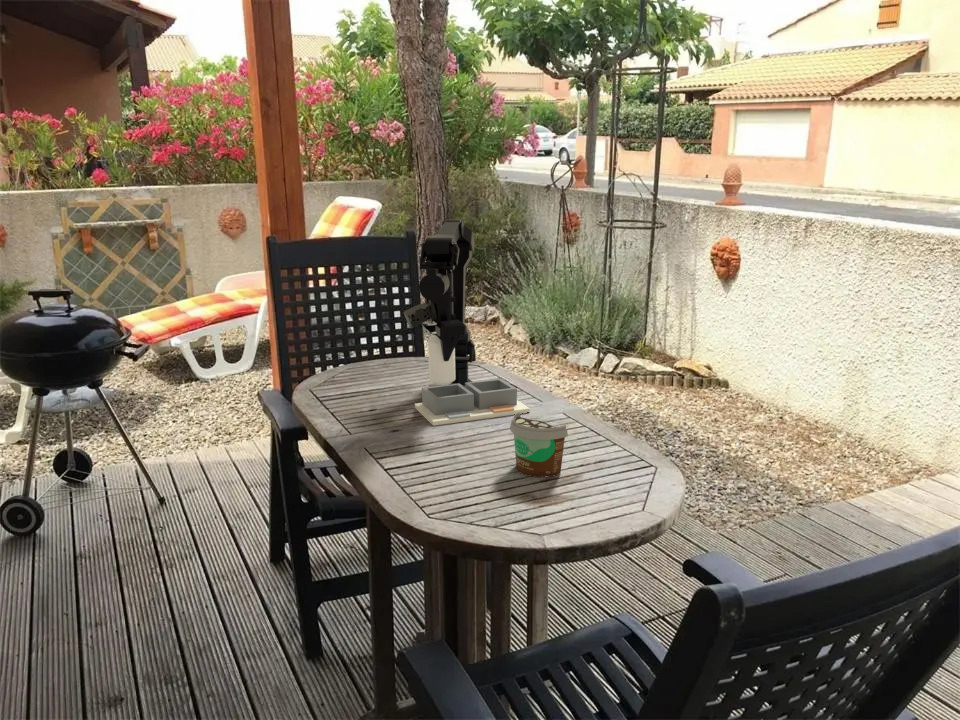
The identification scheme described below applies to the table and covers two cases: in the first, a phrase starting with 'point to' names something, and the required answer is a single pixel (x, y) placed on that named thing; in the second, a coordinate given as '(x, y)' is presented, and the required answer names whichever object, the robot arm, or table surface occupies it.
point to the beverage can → (440, 363)
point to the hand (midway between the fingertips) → (441, 357)
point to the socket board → (469, 401)
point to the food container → (537, 446)
